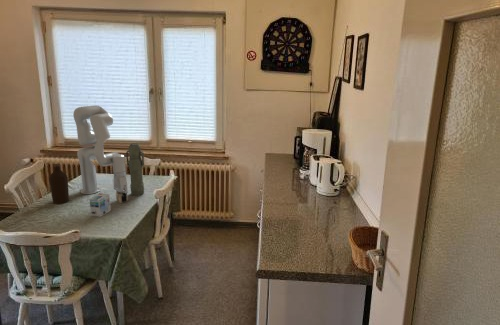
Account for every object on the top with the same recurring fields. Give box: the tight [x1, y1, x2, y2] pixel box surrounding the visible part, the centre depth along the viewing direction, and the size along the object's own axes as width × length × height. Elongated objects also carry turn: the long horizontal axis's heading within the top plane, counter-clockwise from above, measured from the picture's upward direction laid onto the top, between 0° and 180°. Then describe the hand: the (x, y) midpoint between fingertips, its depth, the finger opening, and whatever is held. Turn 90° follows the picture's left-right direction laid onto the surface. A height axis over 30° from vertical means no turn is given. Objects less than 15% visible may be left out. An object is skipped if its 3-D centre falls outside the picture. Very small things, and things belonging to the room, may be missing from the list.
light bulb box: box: [89, 192, 111, 218], centre depth 221 cm, size 11×7×11 cm, turn 168°
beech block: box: [115, 192, 128, 204], centre depth 241 cm, size 5×5×6 cm
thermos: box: [125, 142, 145, 196], centre depth 252 cm, size 9×12×35 cm
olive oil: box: [48, 163, 70, 205], centre depth 237 cm, size 11×11×25 cm
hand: (122, 200), depth 242 cm, fingers open, 5 cm apart
